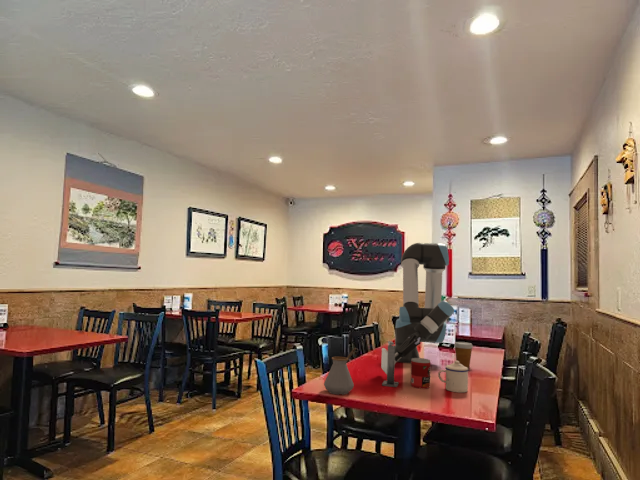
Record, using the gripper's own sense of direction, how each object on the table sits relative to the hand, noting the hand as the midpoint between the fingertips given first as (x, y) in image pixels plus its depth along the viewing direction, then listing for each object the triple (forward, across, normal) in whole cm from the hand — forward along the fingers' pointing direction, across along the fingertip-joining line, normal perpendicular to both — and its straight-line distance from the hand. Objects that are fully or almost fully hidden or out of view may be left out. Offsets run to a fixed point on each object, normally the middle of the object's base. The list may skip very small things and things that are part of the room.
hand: (388, 364), depth 199 cm
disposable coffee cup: (-29, +31, -37) cm, 56 cm away
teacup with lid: (-12, -19, -20) cm, 30 cm away
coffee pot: (+20, -23, +12) cm, 33 cm away
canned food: (-3, -15, -11) cm, 19 cm away
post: (+6, -14, -2) cm, 15 cm away
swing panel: (+3, -5, 0) cm, 6 cm away
